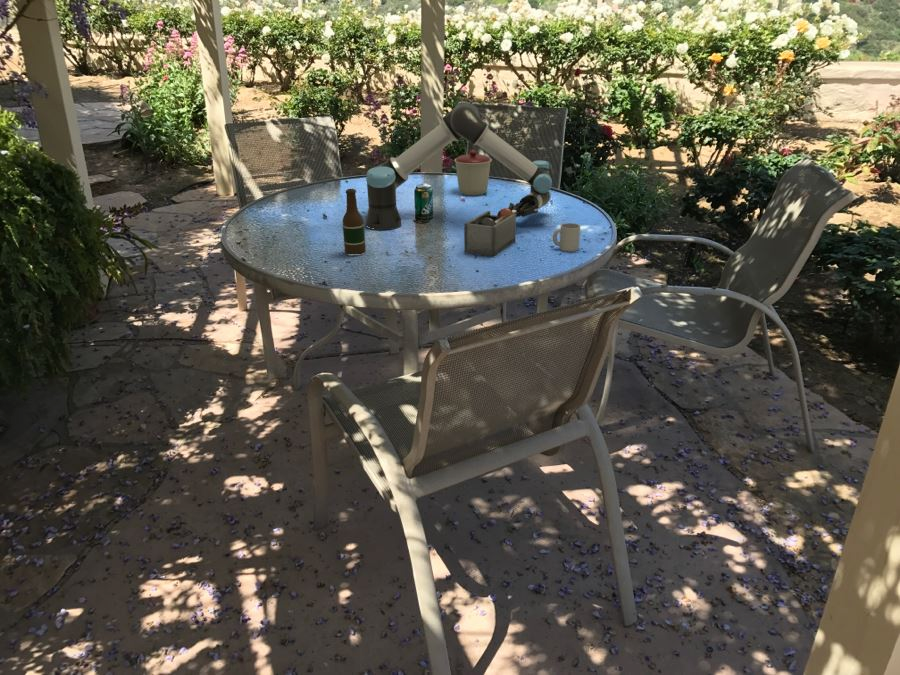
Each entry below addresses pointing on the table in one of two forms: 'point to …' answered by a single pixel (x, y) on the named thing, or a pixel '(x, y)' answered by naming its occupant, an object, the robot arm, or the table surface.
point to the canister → (473, 173)
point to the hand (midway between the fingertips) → (508, 217)
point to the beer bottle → (353, 226)
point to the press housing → (489, 235)
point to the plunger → (501, 214)
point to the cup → (568, 237)
